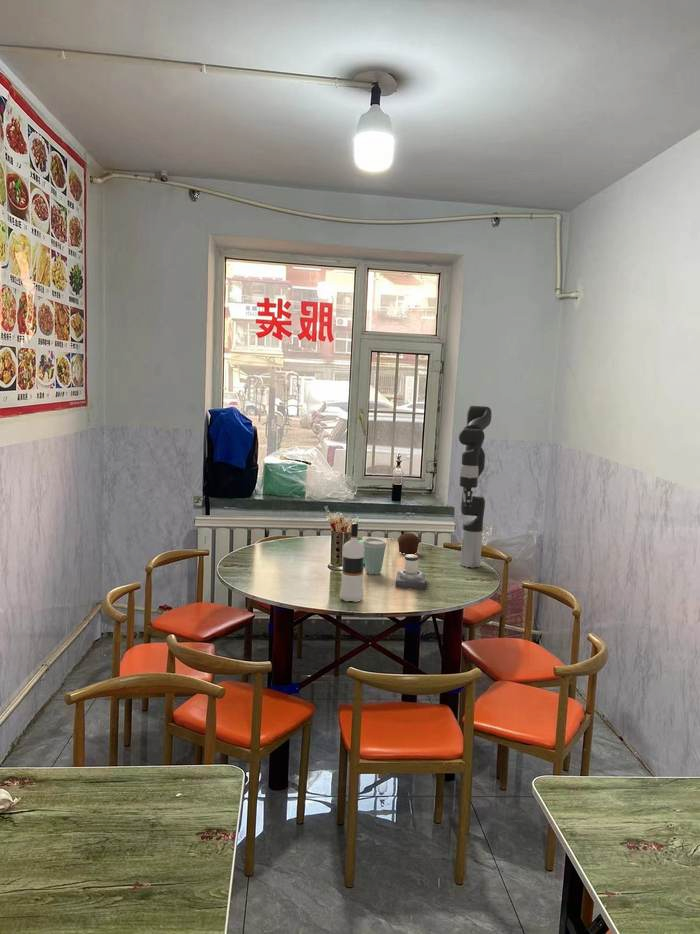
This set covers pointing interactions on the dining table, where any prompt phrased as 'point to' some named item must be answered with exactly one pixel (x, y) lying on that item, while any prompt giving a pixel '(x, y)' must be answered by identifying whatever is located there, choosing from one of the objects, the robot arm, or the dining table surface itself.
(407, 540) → the muffin
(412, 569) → the white banded cylinder
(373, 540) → the disposable coffee cup
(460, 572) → the dining table surface
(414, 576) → the grey ring holder base
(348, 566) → the vodka
